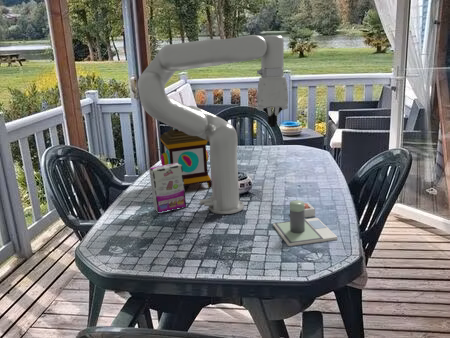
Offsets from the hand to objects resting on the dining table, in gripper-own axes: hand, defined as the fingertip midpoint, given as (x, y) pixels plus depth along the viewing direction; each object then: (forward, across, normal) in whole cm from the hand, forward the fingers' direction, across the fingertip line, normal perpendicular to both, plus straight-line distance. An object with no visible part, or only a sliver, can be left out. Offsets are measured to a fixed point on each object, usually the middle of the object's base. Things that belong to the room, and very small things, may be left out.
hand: (272, 126), depth 155 cm
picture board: (+28, +4, -28) cm, 40 cm away
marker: (+27, +2, -29) cm, 40 cm away
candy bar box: (+30, -38, +3) cm, 48 cm away
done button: (+28, +8, -14) cm, 32 cm away
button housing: (+28, +8, -14) cm, 32 cm away
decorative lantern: (+29, -31, +29) cm, 51 cm away
